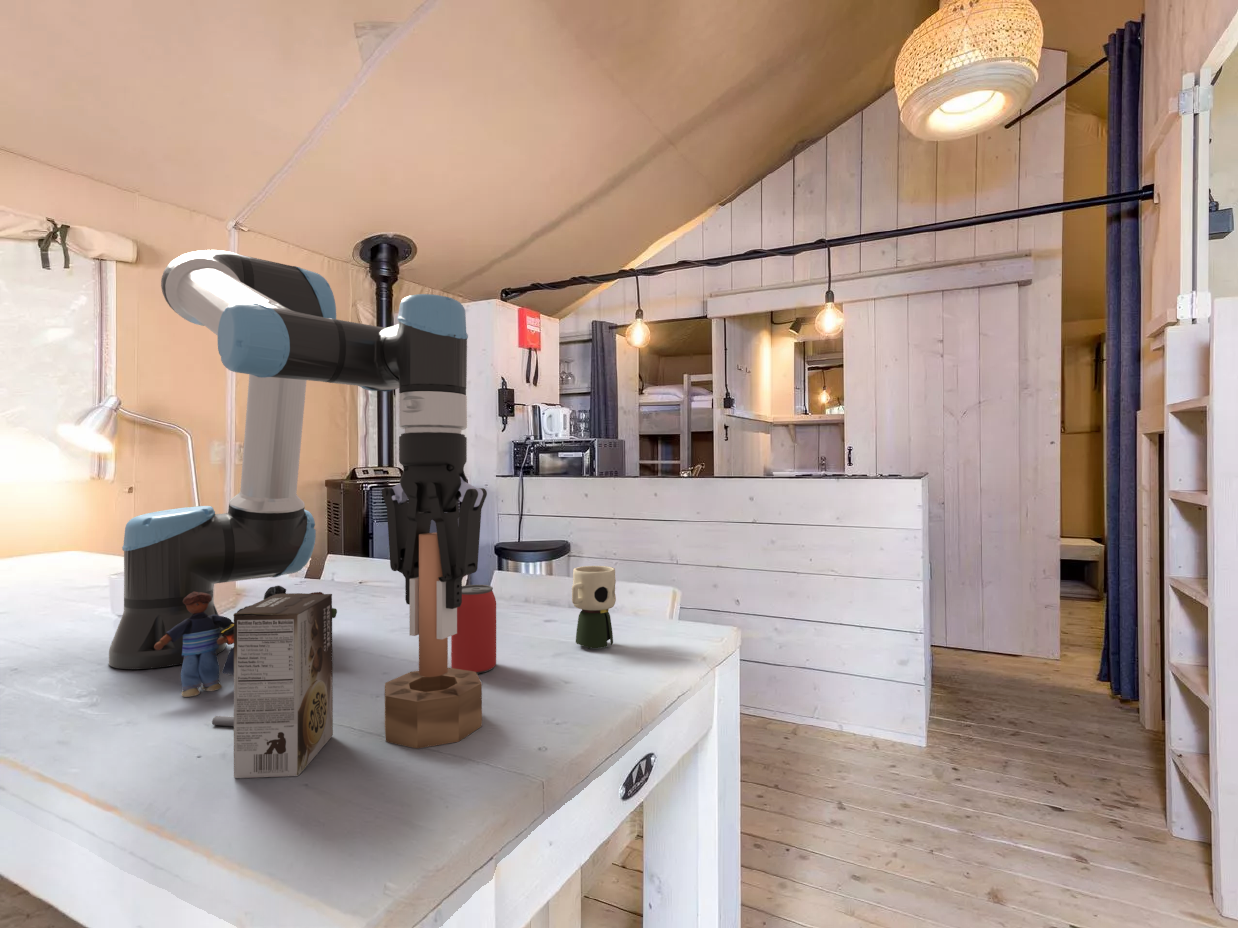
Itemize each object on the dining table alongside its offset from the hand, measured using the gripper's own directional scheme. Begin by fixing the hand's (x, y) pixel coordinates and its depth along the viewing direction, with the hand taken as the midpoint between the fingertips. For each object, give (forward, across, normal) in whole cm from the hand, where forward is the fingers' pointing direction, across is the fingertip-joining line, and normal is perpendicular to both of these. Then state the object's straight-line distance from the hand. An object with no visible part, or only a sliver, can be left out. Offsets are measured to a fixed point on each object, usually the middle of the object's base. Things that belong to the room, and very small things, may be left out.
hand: (433, 633), depth 71 cm
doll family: (+11, -35, +4) cm, 37 cm away
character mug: (+11, +4, +36) cm, 38 cm away
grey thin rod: (+11, -19, -8) cm, 23 cm away
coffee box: (+11, -9, -12) cm, 19 cm away
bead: (+11, 0, 0) cm, 11 cm away
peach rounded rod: (+4, 0, 0) cm, 4 cm away
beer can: (+11, -8, +19) cm, 23 cm away
